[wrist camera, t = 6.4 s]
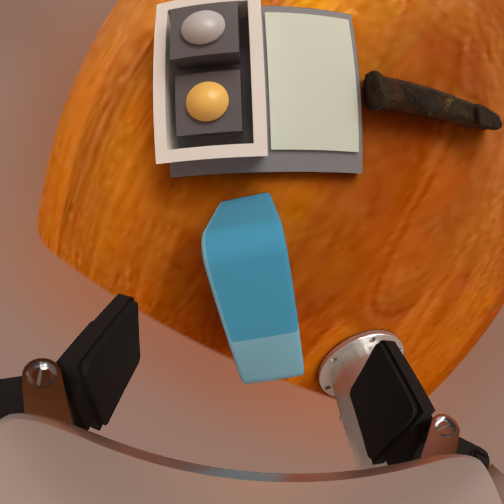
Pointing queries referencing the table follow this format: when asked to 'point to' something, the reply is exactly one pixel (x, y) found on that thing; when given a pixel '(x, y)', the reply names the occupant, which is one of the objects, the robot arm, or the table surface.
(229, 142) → the board
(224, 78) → the tagged breaker
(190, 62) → the grey square block
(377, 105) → the hand tool
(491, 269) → the table surface
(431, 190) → the table surface
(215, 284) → the data package
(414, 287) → the table surface
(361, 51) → the table surface
